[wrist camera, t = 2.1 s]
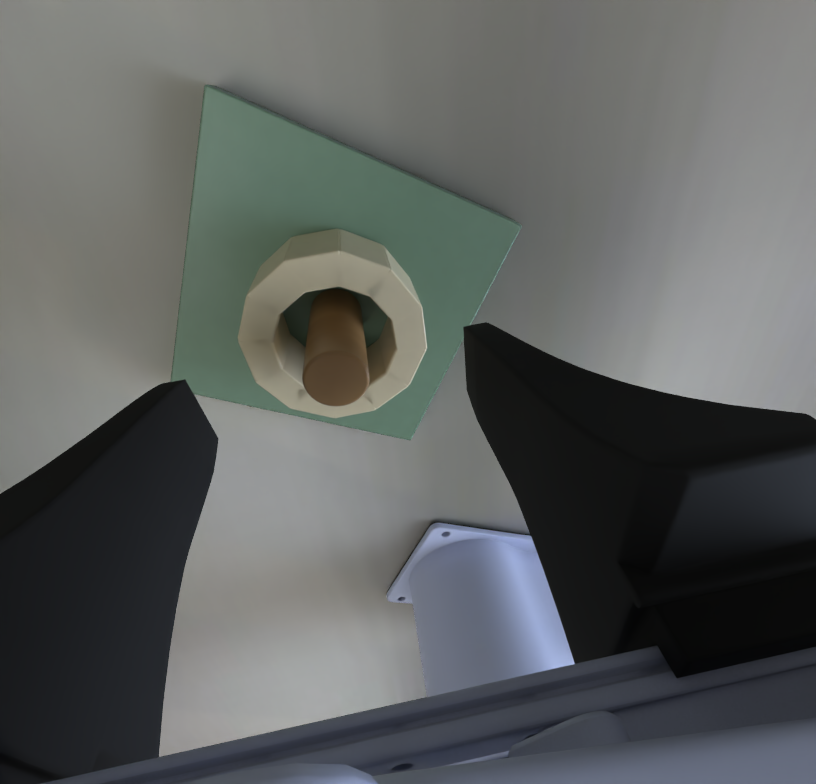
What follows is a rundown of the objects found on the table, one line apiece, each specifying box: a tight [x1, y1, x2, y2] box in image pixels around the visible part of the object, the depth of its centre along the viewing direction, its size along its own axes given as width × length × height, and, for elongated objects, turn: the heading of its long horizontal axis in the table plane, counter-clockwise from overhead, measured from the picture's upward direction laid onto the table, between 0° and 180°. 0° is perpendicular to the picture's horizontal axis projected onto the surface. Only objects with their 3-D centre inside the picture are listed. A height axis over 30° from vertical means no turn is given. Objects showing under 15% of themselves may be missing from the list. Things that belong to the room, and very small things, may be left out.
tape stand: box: [171, 85, 522, 440], centre depth 13 cm, size 10×10×6 cm
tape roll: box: [238, 229, 427, 418], centre depth 14 cm, size 6×6×2 cm
